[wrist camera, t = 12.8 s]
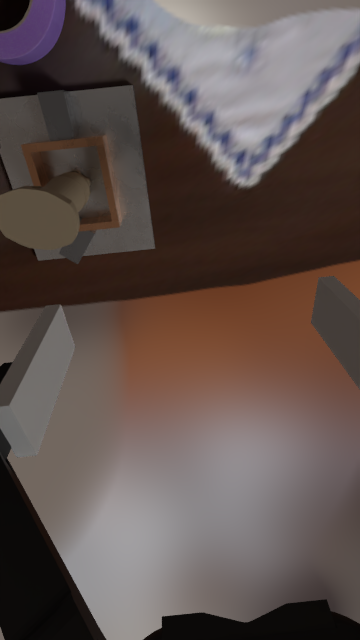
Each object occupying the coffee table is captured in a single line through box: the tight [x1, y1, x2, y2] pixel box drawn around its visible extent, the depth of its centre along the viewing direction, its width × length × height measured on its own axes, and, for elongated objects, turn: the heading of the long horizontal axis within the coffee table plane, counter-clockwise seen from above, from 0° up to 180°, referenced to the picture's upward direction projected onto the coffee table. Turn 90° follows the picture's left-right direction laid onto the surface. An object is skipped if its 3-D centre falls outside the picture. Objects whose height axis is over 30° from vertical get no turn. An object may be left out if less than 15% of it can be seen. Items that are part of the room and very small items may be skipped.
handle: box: [0, 171, 91, 250], centre depth 32 cm, size 5×6×15 cm
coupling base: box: [0, 85, 155, 264], centre depth 37 cm, size 18×16×4 cm
